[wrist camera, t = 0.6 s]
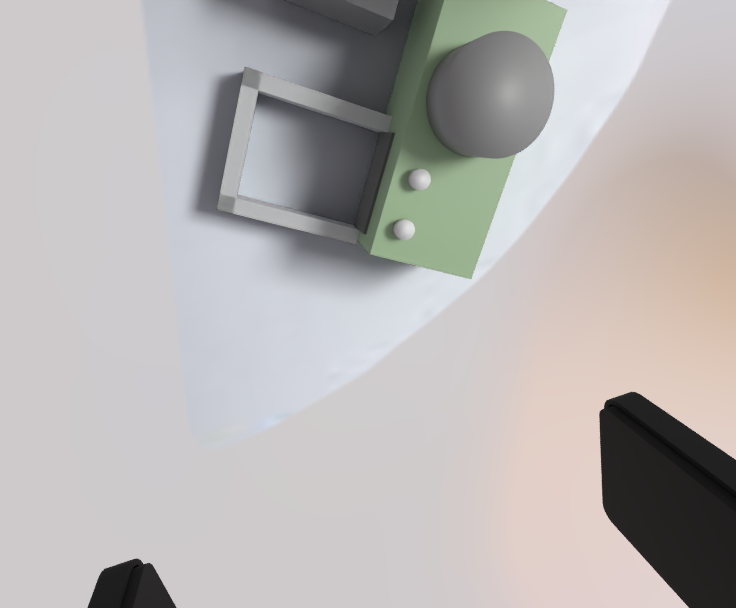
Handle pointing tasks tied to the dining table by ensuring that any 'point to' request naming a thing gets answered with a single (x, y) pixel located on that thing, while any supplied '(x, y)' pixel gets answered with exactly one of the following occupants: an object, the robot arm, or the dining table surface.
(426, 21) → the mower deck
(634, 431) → the robot arm
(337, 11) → the ridged grey block
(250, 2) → the dining table surface
